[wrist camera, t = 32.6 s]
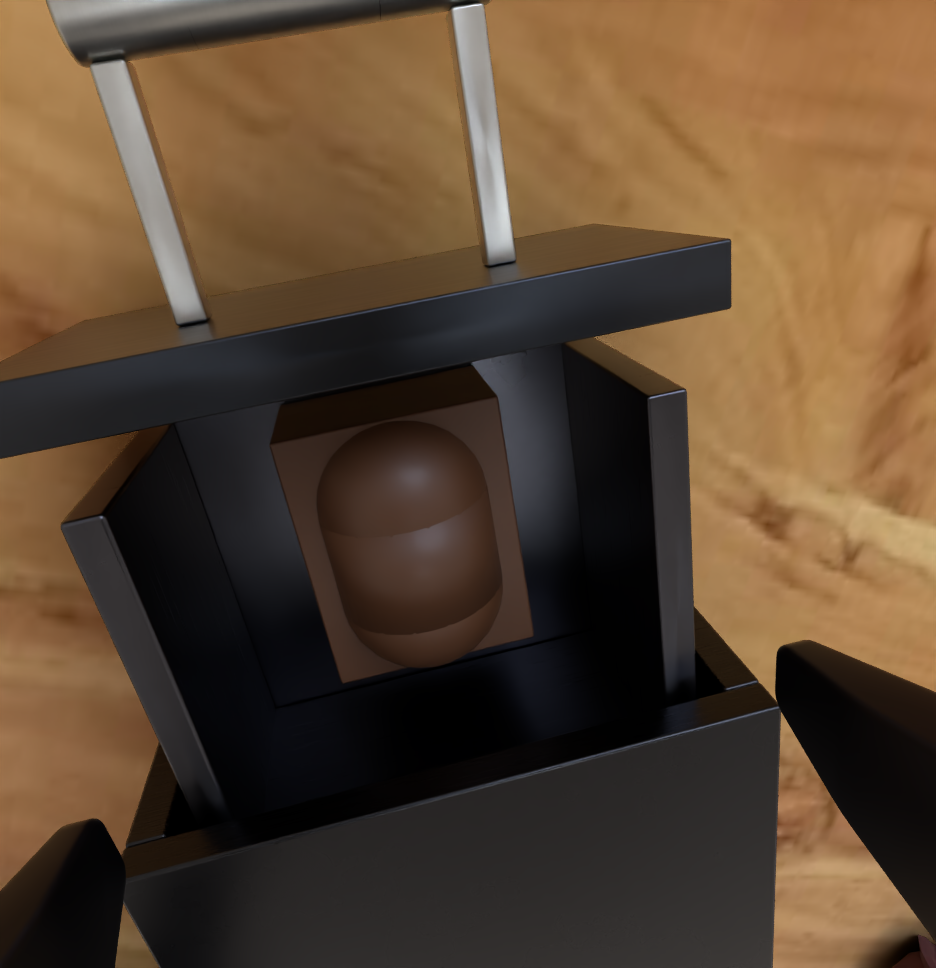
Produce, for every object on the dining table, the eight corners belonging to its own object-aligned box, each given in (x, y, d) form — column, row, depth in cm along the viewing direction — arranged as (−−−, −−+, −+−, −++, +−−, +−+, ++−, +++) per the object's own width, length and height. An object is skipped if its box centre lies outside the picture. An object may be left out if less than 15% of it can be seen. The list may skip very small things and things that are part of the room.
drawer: (-24, 48, 14) (-303, -64, 8) (573, -43, 16) (730, -201, 9) (236, 714, 22) (196, 922, 16) (626, 618, 23) (734, 775, 17)
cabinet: (194, 629, 21) (110, 885, 14) (627, 528, 23) (782, 706, 15) (307, 913, 27) (294, 1211, 19) (649, 818, 28) (770, 1060, 20)
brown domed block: (279, 404, 17) (260, 470, 13) (473, 364, 18) (514, 415, 14) (341, 617, 20) (341, 727, 16) (508, 577, 20) (551, 674, 16)
